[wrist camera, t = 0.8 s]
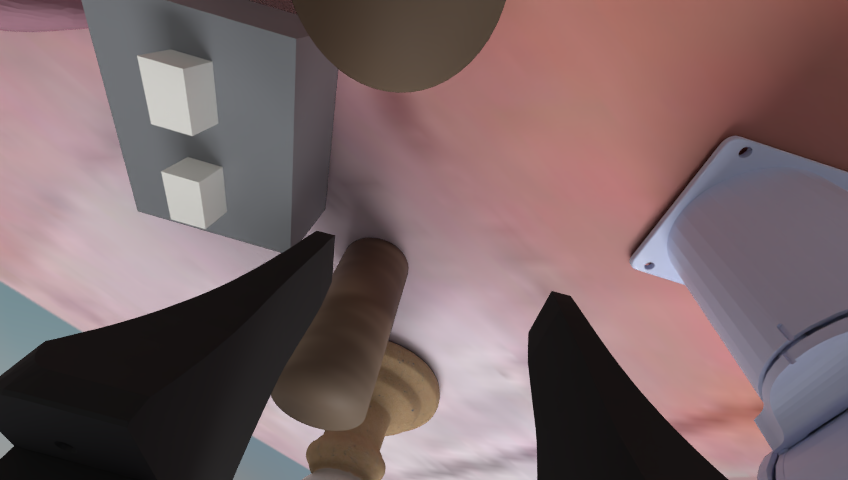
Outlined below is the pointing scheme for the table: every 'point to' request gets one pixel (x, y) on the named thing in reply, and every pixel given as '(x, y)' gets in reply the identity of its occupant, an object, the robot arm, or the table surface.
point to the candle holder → (378, 420)
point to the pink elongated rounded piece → (42, 15)
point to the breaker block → (219, 113)
